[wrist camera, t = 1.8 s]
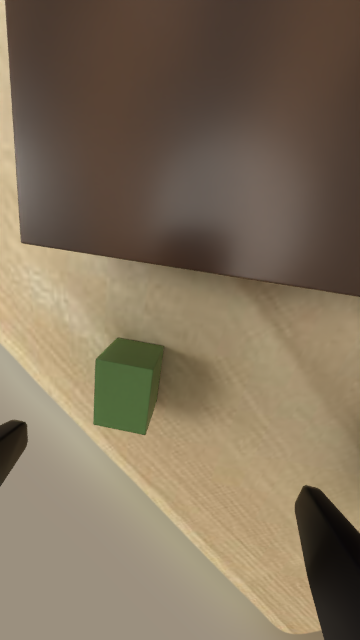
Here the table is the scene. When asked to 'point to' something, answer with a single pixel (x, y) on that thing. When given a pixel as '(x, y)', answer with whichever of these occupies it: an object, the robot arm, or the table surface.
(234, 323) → the table surface
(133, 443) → the table surface
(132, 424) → the green block
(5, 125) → the table surface
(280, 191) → the cabinet
